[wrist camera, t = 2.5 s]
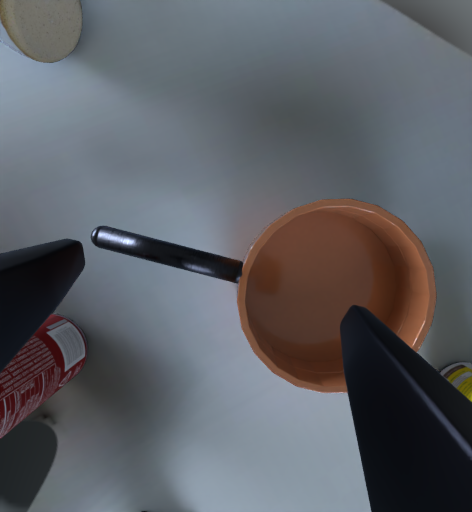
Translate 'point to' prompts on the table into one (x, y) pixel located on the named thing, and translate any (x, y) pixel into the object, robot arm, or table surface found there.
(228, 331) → the table surface
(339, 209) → the pan
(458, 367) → the supplement bottle
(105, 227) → the pan handle
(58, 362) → the soda can
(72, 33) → the ceramic mug
